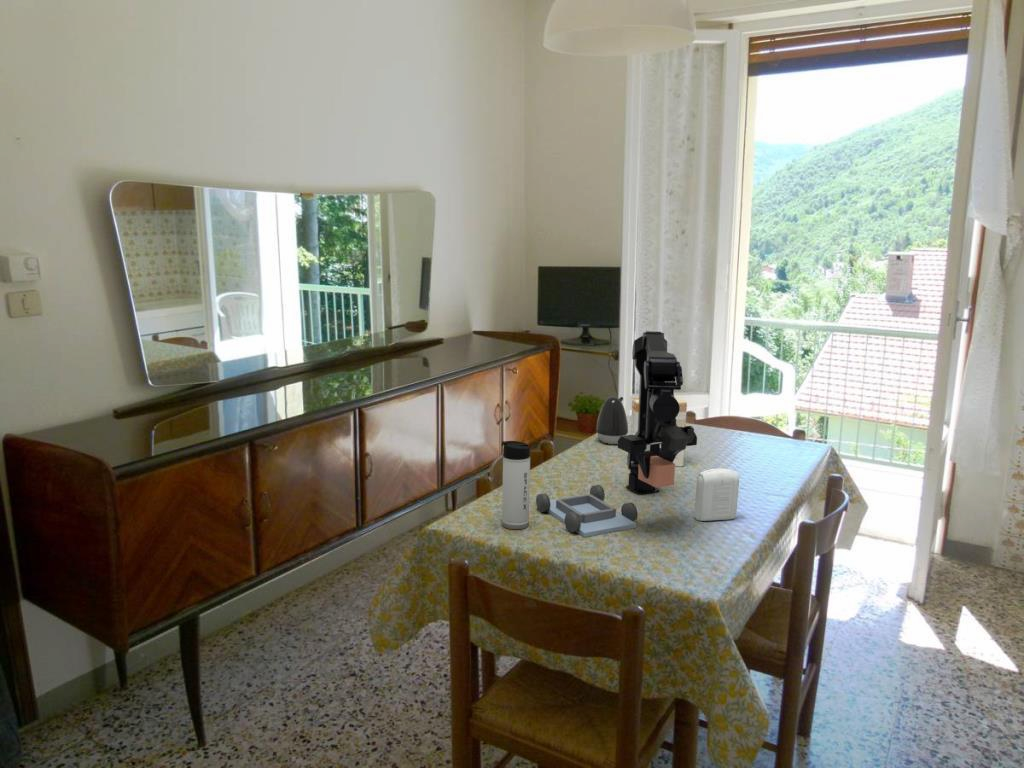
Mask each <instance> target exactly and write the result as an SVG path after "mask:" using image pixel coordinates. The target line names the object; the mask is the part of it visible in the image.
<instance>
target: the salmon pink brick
mask: <svg viewBox="0 0 1024 768" xmlns="http://www.w3.org/2000/svg"><path fill="white" fill-rule="evenodd" d="M675 470H676V466H675V464H674V463H672V462H670V461H668V460H665V459H663V458H661V457H659V456H651V458H650V472H649V478H645V477H644V475H643V472H642V470H641V467H640V465H639V469H638V479H640V480H642V481H644V482H646V483H648V484H650V485H652V486H654V487H655V488H657V489H658V488H663V487H664V488H665V487H669V486H674V485H675V473H676V471H675Z"/></svg>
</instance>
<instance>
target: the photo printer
mask: <svg viewBox="0 0 1024 768" xmlns="http://www.w3.org/2000/svg"><path fill="white" fill-rule="evenodd" d="M739 486H740V477H739V473H738V472H736V471H735V470H733V469H730V468H729V469H728V468H722V467H721V468H720V467H719V468H712V469H707V470H703V471H701V472H700V473H698V475H697V477H696V486H695V488H696V489H695V502H694V519H695V520H697V521H699V522H703V521H704V522H706V521H707V522H709V521H722V520H724V521H725V520H735V519H736V518H737V512H738V511H737V510H738V498H739Z"/></svg>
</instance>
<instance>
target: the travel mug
mask: <svg viewBox="0 0 1024 768" xmlns="http://www.w3.org/2000/svg"><path fill="white" fill-rule="evenodd" d="M501 446H502V447H503V451H502V452H503V453H502V494H501V495H502V501H501V503H502V509H501V511H502V512H501V513H502V514H501V516H502V517H501V518H502V519H501V525H502V526H503V527H504V528H505V527H506V528H505V529H507V528H508V530H512V529H520V530H525V529H526V528H528V527H529V526H530V492H531V491H530V488H531V486H530V483H531V480H530V479H531V446H530V445H529V444H528V443H526V442H523V441H517V440H505V441H504V440H502V441H501Z"/></svg>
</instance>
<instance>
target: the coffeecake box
mask: <svg viewBox="0 0 1024 768" xmlns="http://www.w3.org/2000/svg"><path fill="white" fill-rule="evenodd" d="M675 398H676V400H677V402H678V403H679V407H680V410H679V413H678V415H677V417H676V425H677V426H678V427H684V426H687V425H686V424H687V408H688V405H687V403H688V402H687V401H686V400H684V398H682V397H675ZM638 414H639V397H632V399H631V416H630V417H631V422H630V435H635V434H636V432H637V431H638ZM660 448H661V444H660ZM684 459H685V450H682V451H680V452H679V453H678V454H677V455H676V457H675V459H674V461H673V463H674V464H675V467H682V466H683V467H684V463H685V460H684ZM631 462H633V461H631Z"/></svg>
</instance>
